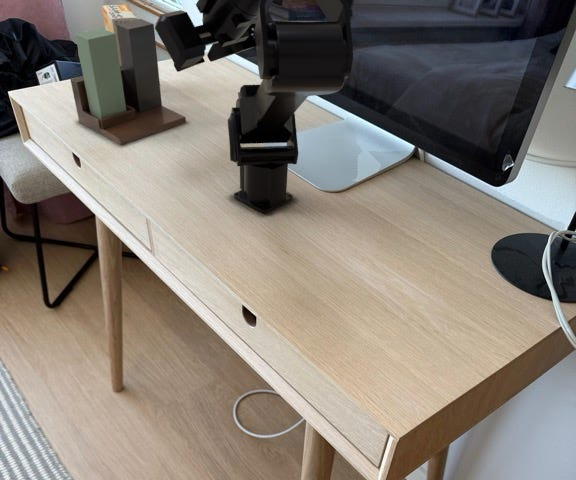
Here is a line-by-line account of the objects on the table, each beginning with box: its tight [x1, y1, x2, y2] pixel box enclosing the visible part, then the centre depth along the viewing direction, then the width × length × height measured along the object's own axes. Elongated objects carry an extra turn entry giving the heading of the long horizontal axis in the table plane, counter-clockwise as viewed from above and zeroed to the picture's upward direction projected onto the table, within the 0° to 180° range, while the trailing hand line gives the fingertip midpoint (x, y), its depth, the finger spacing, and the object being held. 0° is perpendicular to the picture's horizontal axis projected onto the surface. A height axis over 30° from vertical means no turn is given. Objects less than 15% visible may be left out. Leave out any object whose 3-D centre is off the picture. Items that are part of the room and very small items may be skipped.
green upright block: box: [75, 27, 126, 119], centre depth 93 cm, size 4×5×13 cm
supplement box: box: [101, 4, 139, 66], centre depth 106 cm, size 8×5×13 cm, turn 25°
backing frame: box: [69, 18, 187, 146], centre depth 95 cm, size 12×14×14 cm
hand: (193, 63), depth 86 cm, fingers open, 6 cm apart
